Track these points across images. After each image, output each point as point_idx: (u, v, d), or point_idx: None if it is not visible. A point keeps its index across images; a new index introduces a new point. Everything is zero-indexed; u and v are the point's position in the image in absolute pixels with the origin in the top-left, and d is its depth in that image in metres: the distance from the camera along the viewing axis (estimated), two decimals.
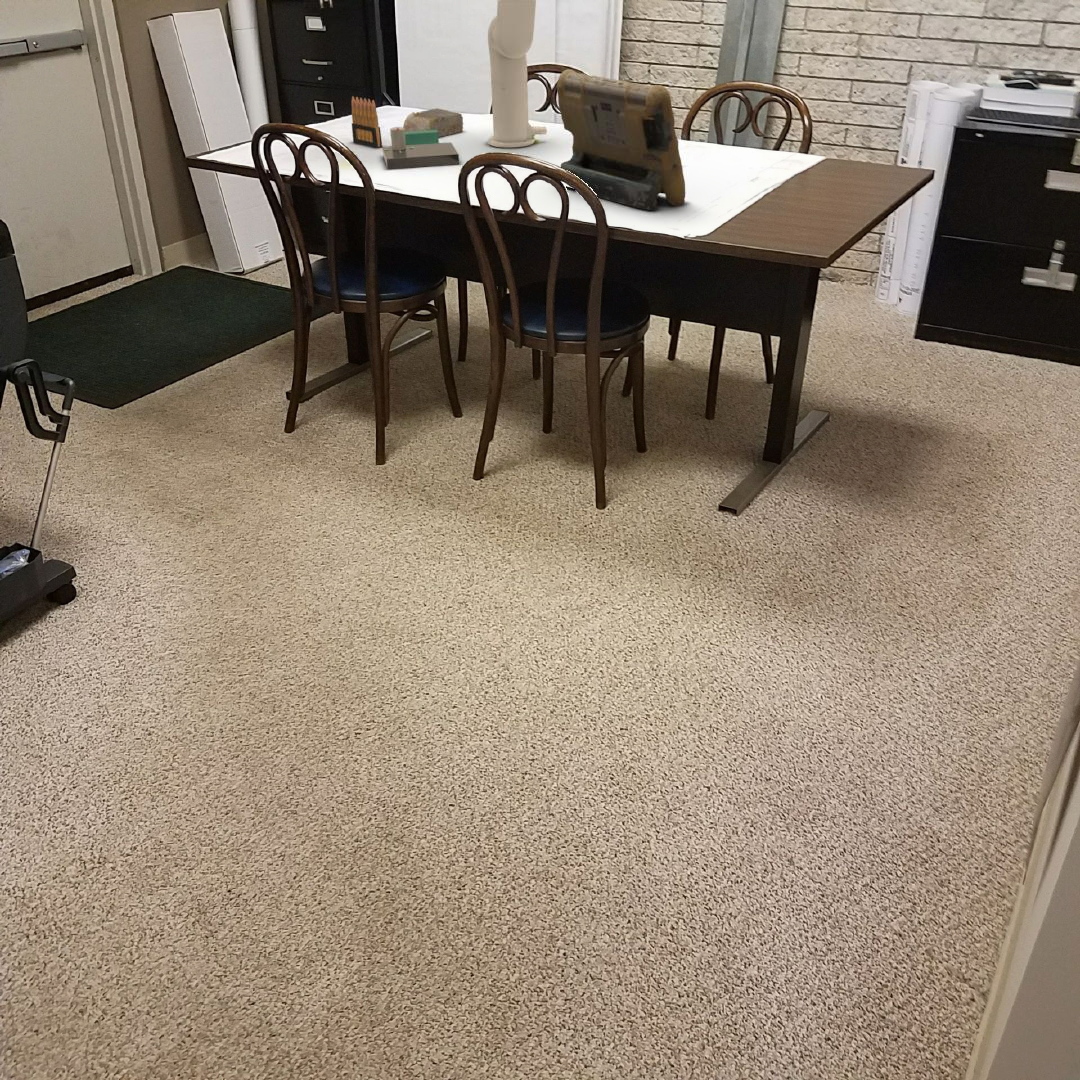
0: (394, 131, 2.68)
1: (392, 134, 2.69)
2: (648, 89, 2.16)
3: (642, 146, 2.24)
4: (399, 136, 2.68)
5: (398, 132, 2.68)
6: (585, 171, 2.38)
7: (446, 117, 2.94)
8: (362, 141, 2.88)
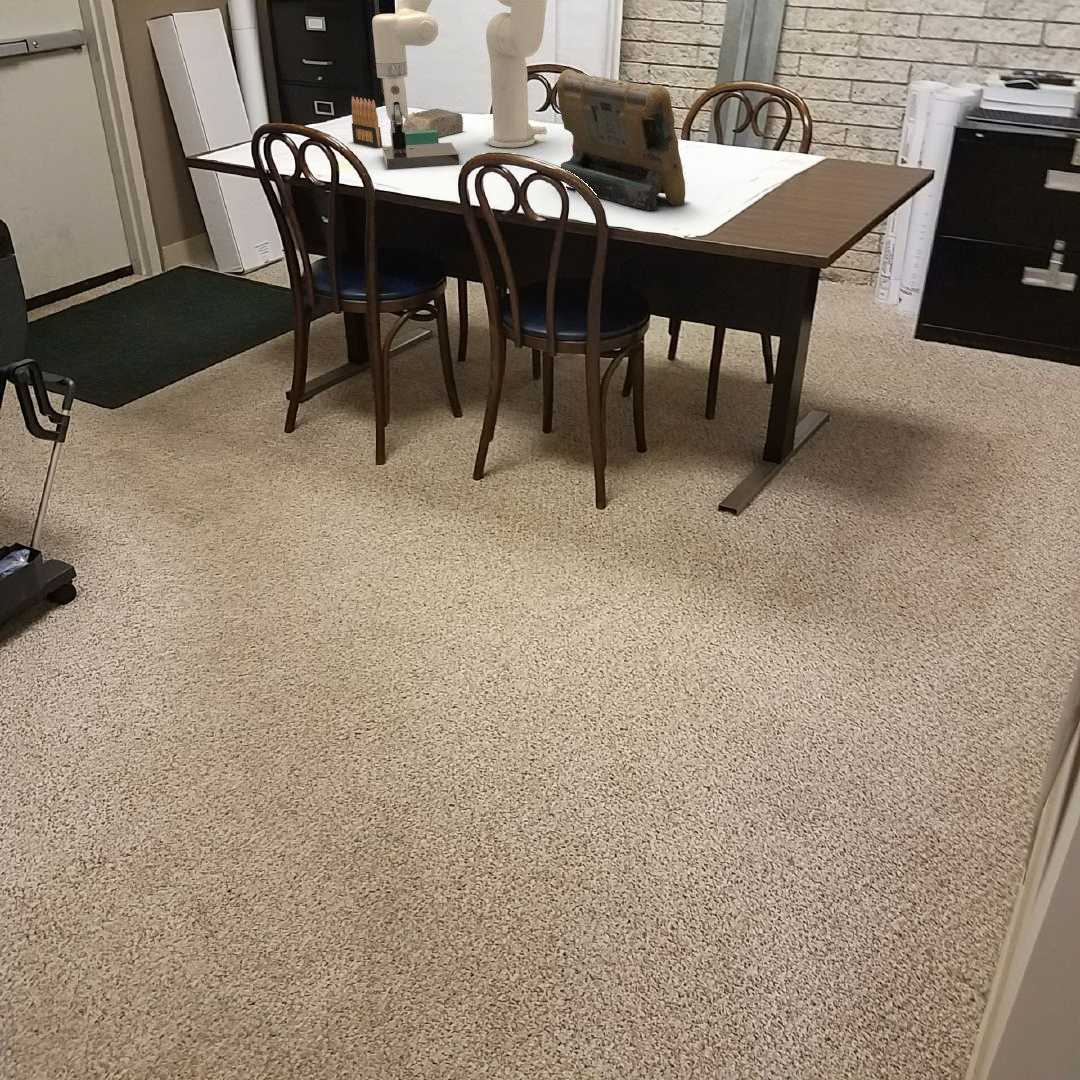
0: None
1: None
2: (648, 89, 2.16)
3: (642, 146, 2.24)
4: None
5: None
6: (585, 171, 2.38)
7: (446, 117, 2.94)
8: (362, 141, 2.88)
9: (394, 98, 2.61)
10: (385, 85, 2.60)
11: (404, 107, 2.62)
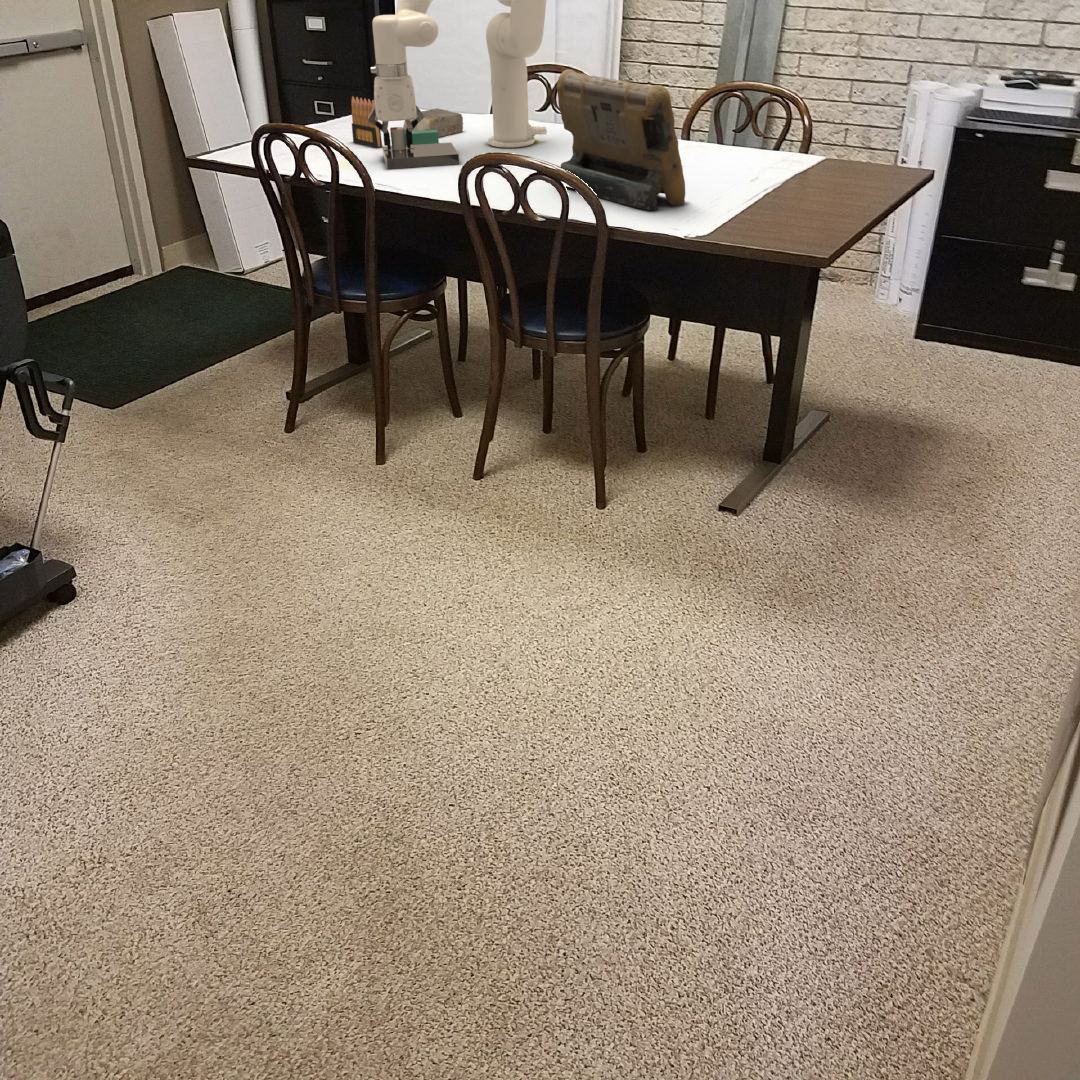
0: None
1: None
2: (648, 89, 2.16)
3: (642, 146, 2.24)
4: None
5: (390, 131, 2.69)
6: (585, 171, 2.38)
7: (446, 117, 2.94)
8: (362, 141, 2.88)
9: (374, 96, 2.64)
10: None
11: (375, 107, 2.64)
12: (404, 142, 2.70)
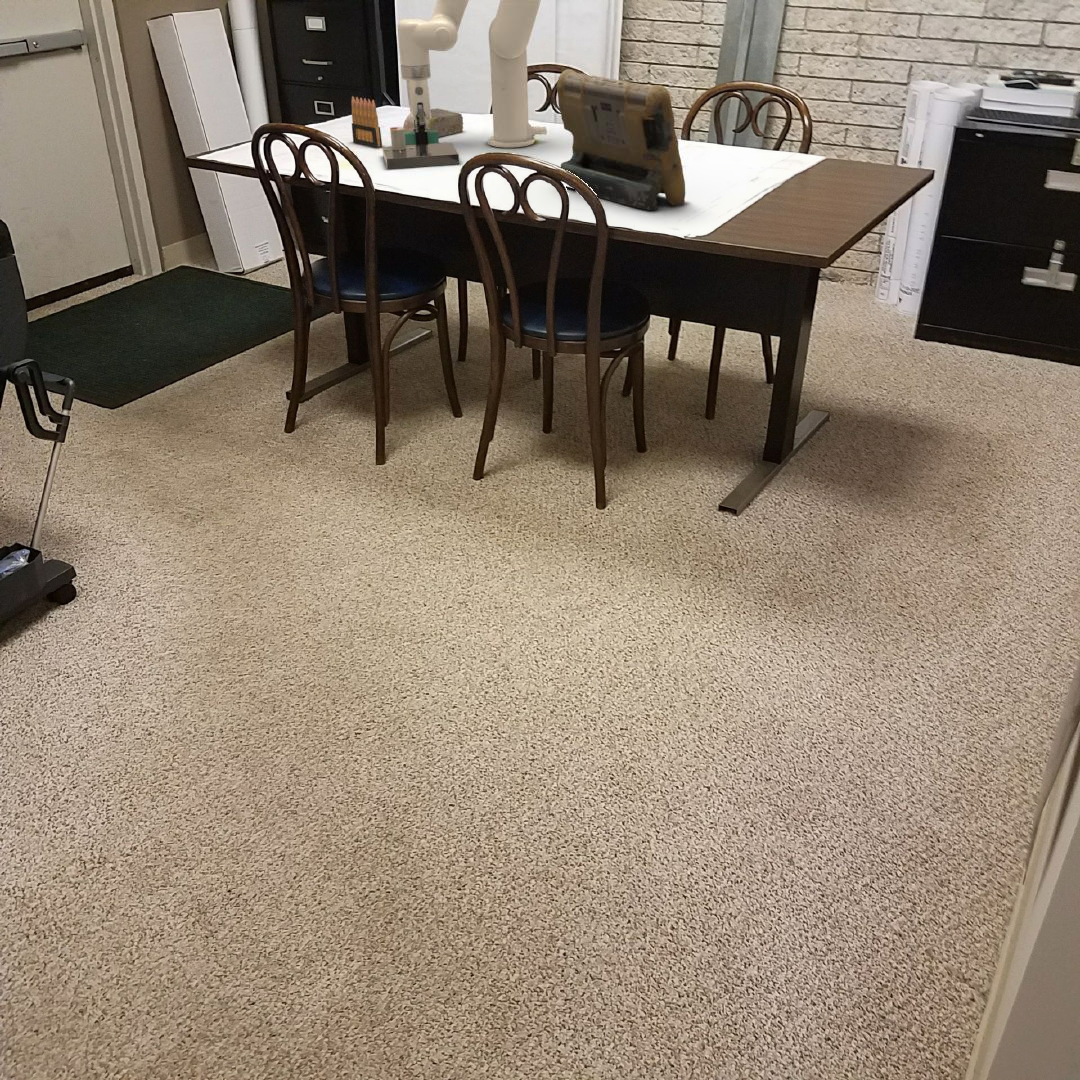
0: None
1: None
2: (648, 89, 2.16)
3: (642, 146, 2.24)
4: None
5: (390, 131, 2.69)
6: (585, 171, 2.38)
7: (446, 117, 2.94)
8: (362, 141, 2.88)
9: (418, 99, 2.74)
10: (409, 86, 2.74)
11: (427, 107, 2.75)
12: (404, 142, 2.70)
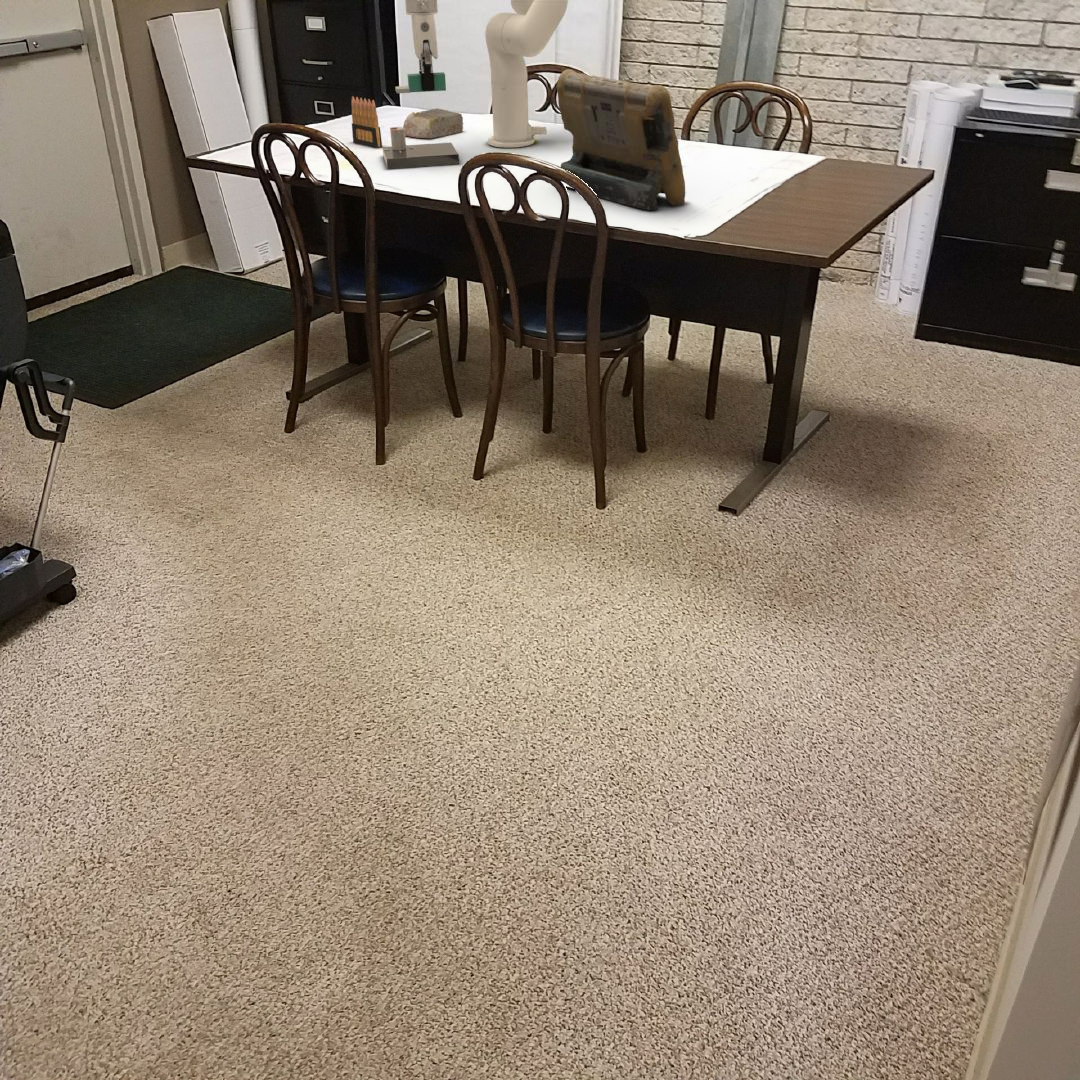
0: None
1: None
2: (648, 89, 2.16)
3: (642, 146, 2.24)
4: None
5: (390, 131, 2.69)
6: (585, 171, 2.38)
7: (446, 117, 2.94)
8: (362, 141, 2.88)
9: (424, 36, 2.52)
10: (414, 22, 2.52)
11: (434, 45, 2.54)
12: (404, 142, 2.70)
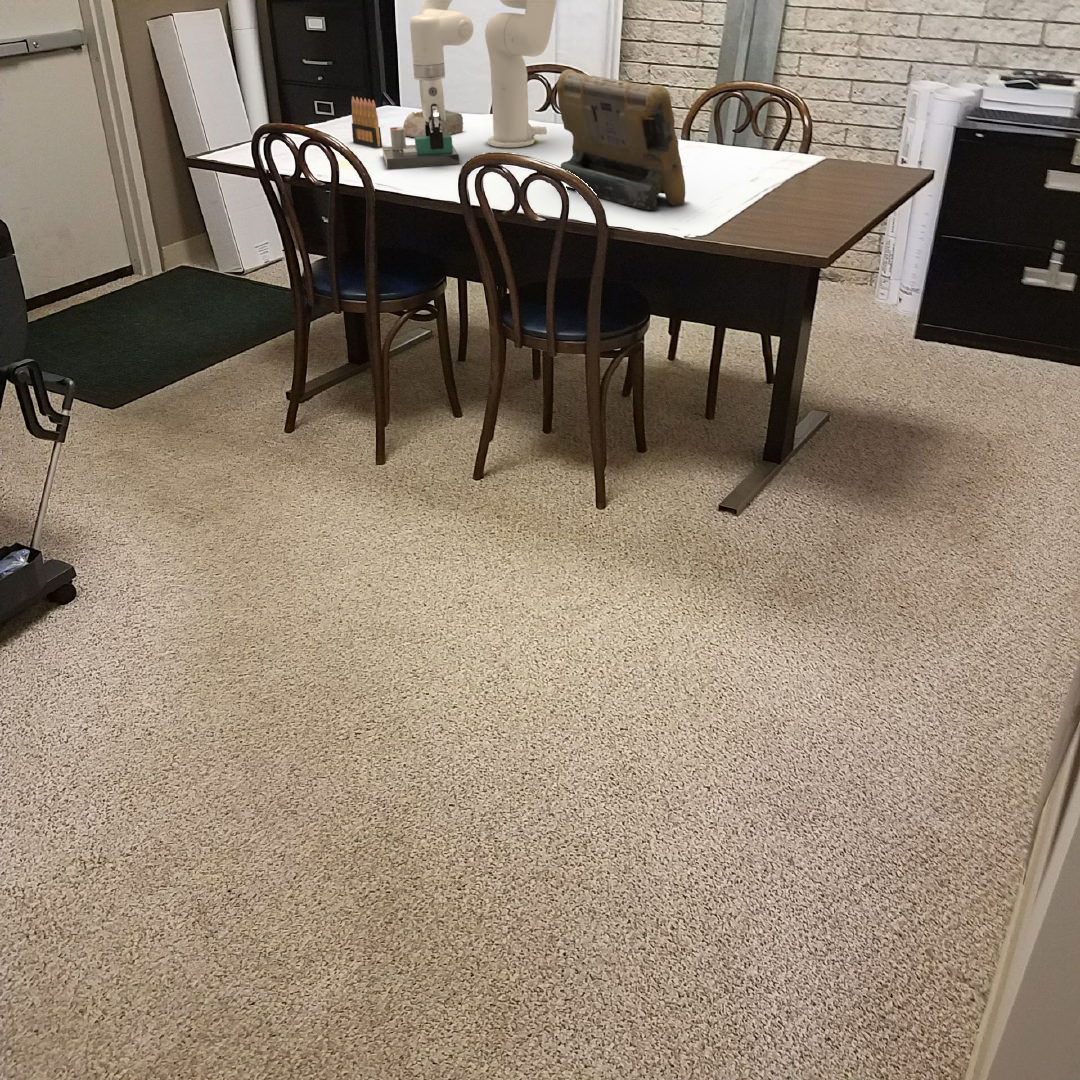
0: None
1: None
2: (648, 89, 2.16)
3: (642, 146, 2.24)
4: None
5: (390, 131, 2.69)
6: (585, 171, 2.38)
7: (446, 117, 2.94)
8: (362, 141, 2.88)
9: (432, 100, 2.56)
10: (422, 87, 2.56)
11: (442, 109, 2.58)
12: (404, 142, 2.70)
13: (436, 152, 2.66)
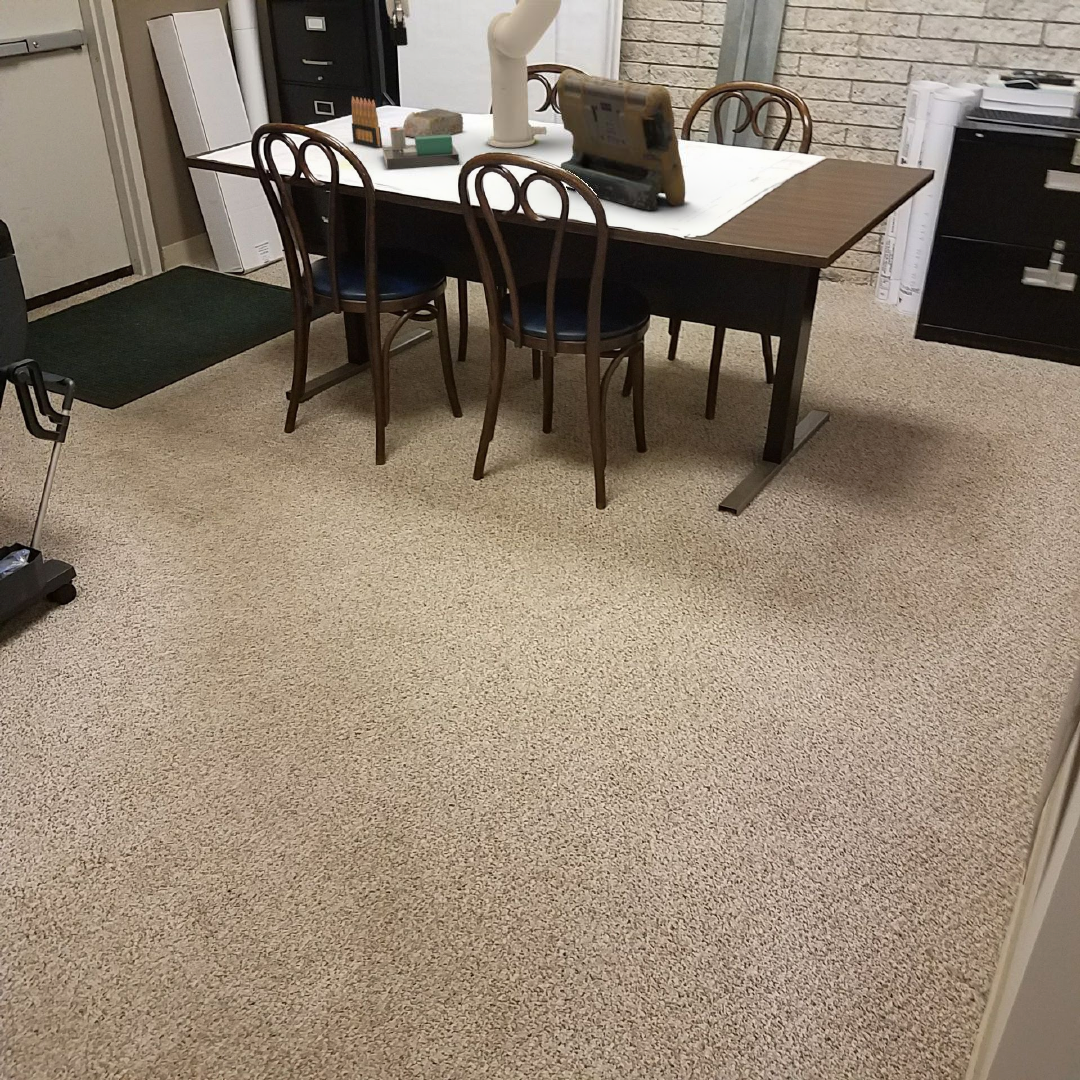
0: None
1: None
2: (648, 89, 2.16)
3: (642, 146, 2.24)
4: None
5: (390, 131, 2.69)
6: (585, 171, 2.38)
7: (446, 117, 2.94)
8: (362, 141, 2.88)
9: None
10: None
11: (405, 4, 2.57)
12: (404, 142, 2.70)
13: (436, 152, 2.66)
